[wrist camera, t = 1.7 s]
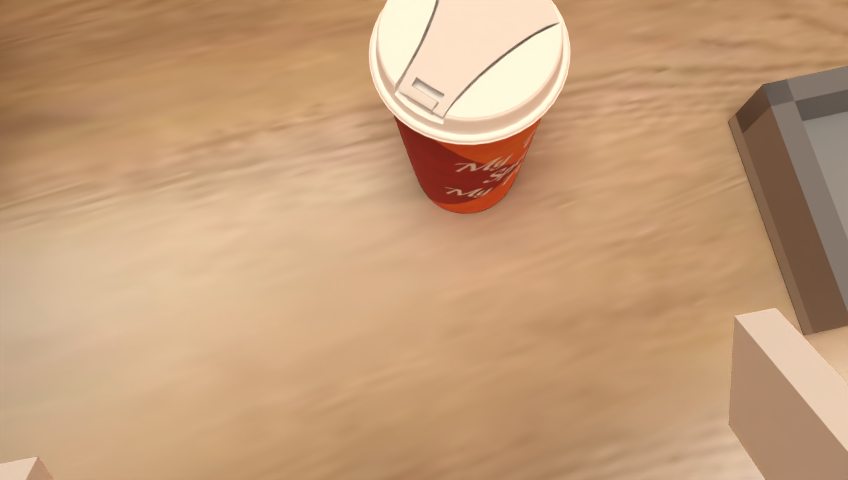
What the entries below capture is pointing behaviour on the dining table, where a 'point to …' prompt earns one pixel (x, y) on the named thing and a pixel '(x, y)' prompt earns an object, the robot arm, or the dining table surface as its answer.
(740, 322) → the robot arm
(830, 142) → the cup holder
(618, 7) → the dining table surface
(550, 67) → the paper cup
